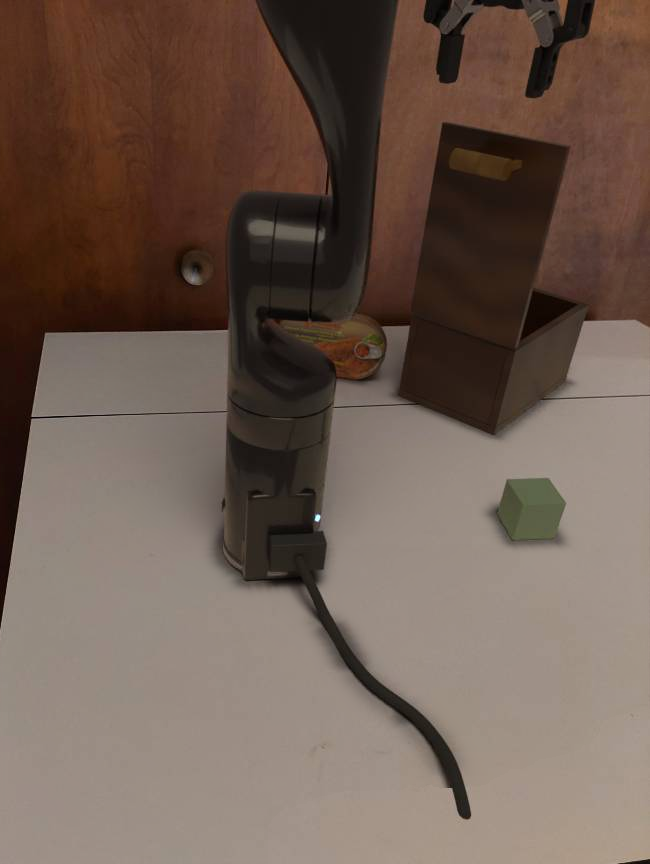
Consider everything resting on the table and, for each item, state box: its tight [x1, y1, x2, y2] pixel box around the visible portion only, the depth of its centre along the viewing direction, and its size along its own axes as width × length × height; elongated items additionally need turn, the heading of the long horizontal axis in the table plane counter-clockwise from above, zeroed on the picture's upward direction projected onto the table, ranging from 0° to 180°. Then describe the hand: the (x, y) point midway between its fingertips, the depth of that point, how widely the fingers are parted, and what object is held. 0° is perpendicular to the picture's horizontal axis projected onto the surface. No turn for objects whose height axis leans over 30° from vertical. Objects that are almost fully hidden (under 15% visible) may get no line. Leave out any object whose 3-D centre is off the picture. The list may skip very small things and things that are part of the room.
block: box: [496, 477, 567, 541], centre depth 82 cm, size 4×4×4 cm
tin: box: [278, 313, 388, 380], centre depth 107 cm, size 15×3×8 cm, turn 73°
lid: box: [409, 121, 571, 348], centre depth 86 cm, size 21×14×5 cm
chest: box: [397, 287, 590, 435], centre depth 104 cm, size 20×14×11 cm
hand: (489, 89), depth 71 cm, fingers open, 8 cm apart
